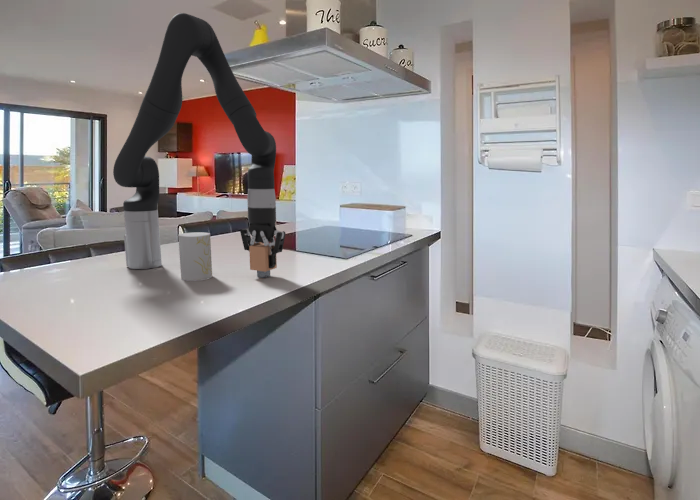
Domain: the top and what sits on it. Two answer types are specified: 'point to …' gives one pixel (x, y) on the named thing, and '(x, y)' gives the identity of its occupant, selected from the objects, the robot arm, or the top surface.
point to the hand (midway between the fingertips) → (263, 266)
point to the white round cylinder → (195, 256)
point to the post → (263, 274)
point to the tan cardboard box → (259, 258)
